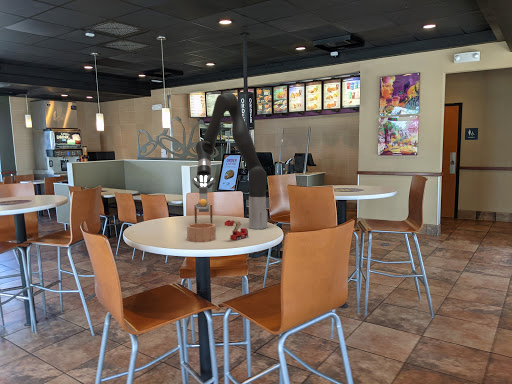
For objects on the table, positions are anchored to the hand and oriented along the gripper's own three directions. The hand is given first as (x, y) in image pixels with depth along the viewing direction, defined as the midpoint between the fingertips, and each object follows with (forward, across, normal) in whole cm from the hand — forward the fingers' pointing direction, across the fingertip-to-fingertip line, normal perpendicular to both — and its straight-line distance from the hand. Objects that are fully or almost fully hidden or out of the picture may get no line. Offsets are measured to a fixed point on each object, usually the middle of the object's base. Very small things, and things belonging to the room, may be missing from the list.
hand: (203, 193), depth 200 cm
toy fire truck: (+29, -17, +1) cm, 34 cm away
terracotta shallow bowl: (+28, 0, 0) cm, 28 cm away
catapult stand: (+16, 0, -12) cm, 20 cm away
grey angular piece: (+10, 0, -3) cm, 11 cm away
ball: (+7, 0, +1) cm, 7 cm away
